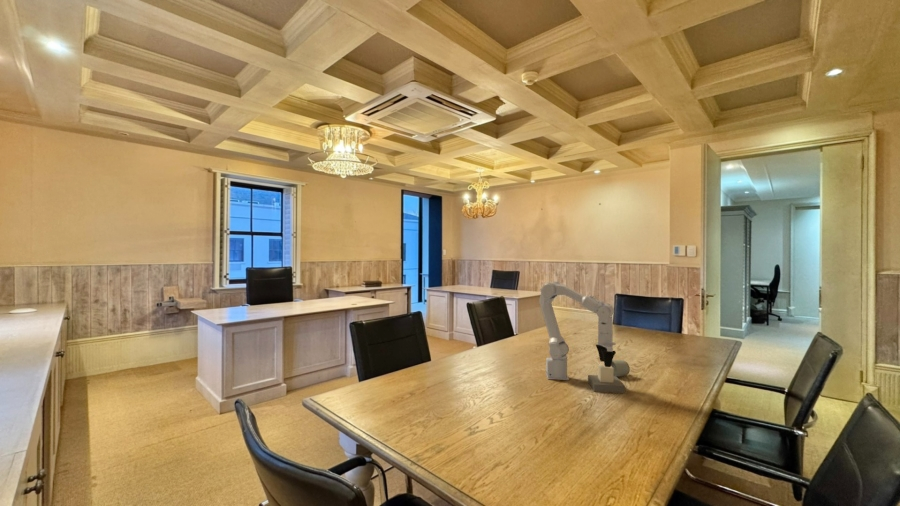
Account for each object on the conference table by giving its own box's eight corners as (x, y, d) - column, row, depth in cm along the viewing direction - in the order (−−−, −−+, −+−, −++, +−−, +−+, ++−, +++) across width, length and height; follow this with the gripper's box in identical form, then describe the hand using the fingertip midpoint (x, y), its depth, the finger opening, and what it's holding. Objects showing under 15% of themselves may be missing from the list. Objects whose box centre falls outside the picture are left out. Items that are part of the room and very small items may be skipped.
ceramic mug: (631, 377, 170) (631, 360, 170) (616, 379, 167) (616, 362, 167) (614, 371, 180) (614, 355, 180) (600, 372, 177) (600, 356, 177)
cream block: (600, 381, 155) (600, 367, 155) (598, 377, 160) (598, 364, 160) (613, 382, 154) (613, 368, 154) (610, 378, 159) (610, 364, 159)
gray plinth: (594, 391, 152) (594, 384, 152) (587, 381, 164) (587, 374, 164) (624, 393, 151) (624, 385, 151) (616, 383, 162) (616, 376, 162)
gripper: (620, 336, 150) (620, 369, 150) (610, 329, 164) (610, 359, 164) (602, 335, 151) (602, 368, 151) (593, 328, 165) (593, 358, 165)
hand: (605, 364), depth 158 cm, fingers open, 7 cm apart
